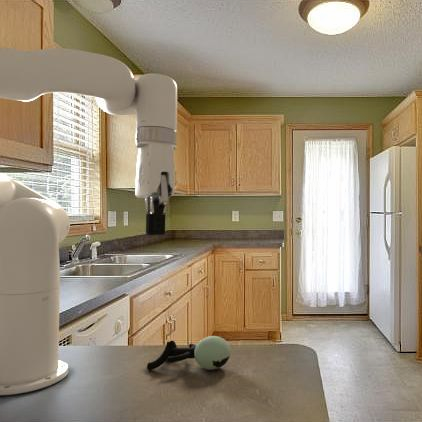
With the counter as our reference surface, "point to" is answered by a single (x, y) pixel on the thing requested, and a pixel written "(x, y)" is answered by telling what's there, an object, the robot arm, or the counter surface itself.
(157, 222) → the robot arm
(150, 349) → the counter surface
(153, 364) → the toy
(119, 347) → the counter surface
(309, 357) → the counter surface
